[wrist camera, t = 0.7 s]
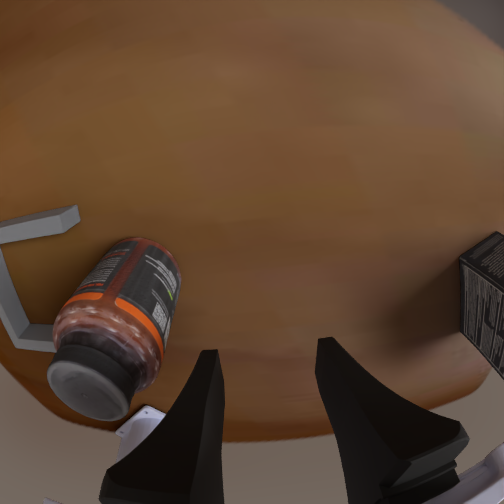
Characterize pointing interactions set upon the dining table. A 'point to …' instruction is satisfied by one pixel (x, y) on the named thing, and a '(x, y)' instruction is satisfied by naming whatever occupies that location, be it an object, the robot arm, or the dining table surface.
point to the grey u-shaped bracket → (3, 292)
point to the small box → (484, 299)
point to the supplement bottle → (115, 329)
